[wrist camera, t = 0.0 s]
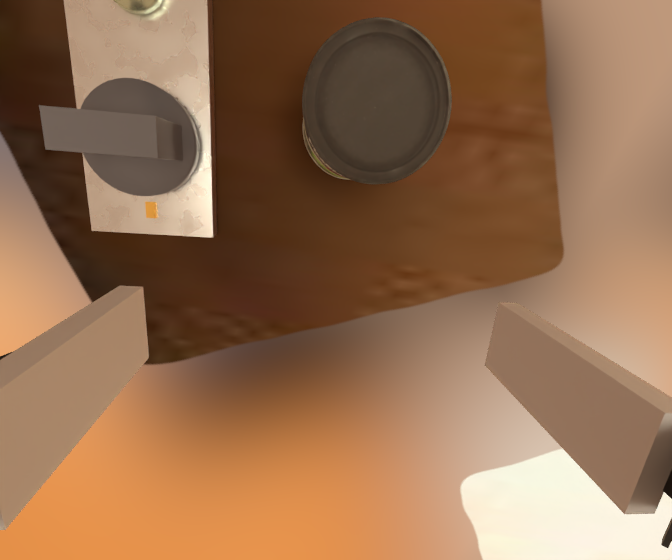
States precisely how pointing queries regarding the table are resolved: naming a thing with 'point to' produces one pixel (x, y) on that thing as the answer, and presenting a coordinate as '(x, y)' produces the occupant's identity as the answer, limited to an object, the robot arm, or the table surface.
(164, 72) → the base plate
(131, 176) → the wing knob
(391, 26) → the coffee can
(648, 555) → the table surface
